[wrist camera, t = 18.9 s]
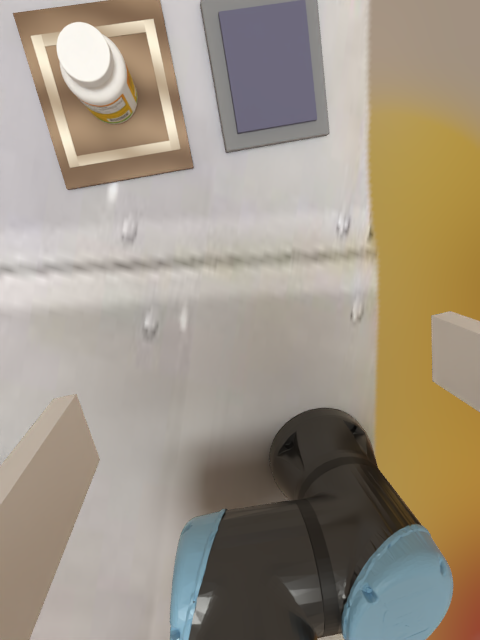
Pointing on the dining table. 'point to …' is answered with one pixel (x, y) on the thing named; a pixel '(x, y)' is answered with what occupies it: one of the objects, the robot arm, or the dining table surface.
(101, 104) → the supplement bottle
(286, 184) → the dining table surface
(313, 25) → the ink pad
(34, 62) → the marking board
